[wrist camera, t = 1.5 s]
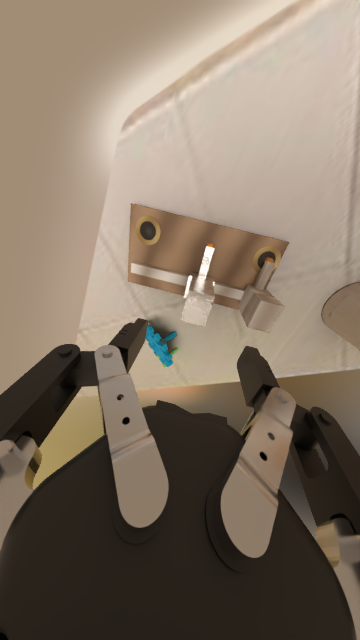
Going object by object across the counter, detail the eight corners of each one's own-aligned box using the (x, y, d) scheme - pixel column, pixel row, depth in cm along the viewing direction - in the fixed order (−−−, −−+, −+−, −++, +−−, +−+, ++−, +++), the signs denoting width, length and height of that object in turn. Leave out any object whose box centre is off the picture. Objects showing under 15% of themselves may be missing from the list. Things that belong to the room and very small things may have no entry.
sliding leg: (223, 246, 24) (235, 254, 15) (207, 297, 28) (208, 327, 19) (198, 239, 24) (194, 244, 15) (185, 292, 28) (176, 319, 19)
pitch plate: (284, 241, 24) (327, 246, 16) (250, 309, 30) (268, 339, 22) (134, 205, 25) (98, 190, 16) (130, 279, 31) (103, 296, 22)
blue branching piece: (134, 320, 33) (158, 342, 26) (157, 308, 36) (185, 324, 29) (150, 355, 40) (173, 380, 32) (168, 342, 42) (194, 363, 35)
